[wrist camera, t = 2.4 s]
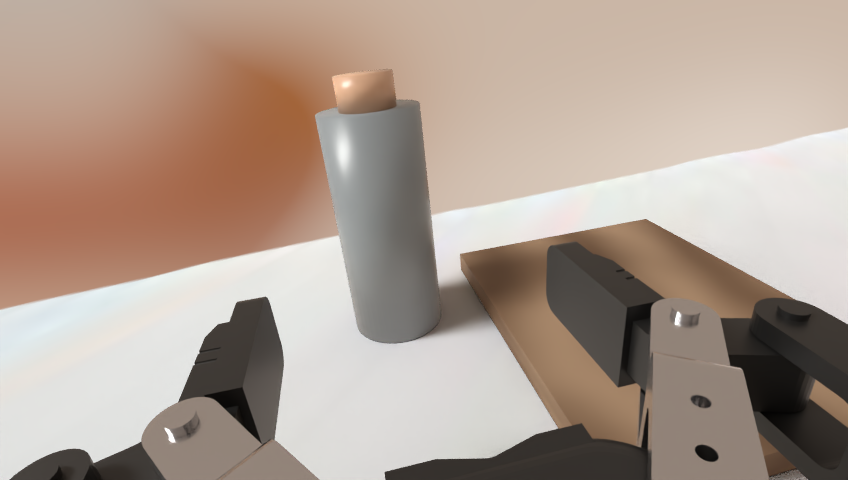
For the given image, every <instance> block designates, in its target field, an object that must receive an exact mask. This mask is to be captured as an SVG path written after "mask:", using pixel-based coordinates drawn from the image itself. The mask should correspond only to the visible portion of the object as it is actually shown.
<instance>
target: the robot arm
mask: <svg viewBox="0 0 848 480" xmlns="http://www.w3.org/2000/svg"><path fill="white" fill-rule="evenodd" d="M546 296H547V301H548V305H549V307H550V309H551V311H552V312H553V314H554V315H555V316H556V317H557V318H558V319H559V321H560V322H561V323H562V324H563V325H564V326H565V327H566V329H567V330H568V331H569V332H570V333H571V334H572V335H573V337H574V338H575V339H576V340H577V341H578V342H579V344H580V345H581V346H582V347H583V348H584V349H585V350H586V352H587V353H588V354H589V355H590V356H591V357H592V358H593V360H594V361H595V362H596V363H597V364H598V365H599V366H600V368H601V369H602V370H603V371H604V372H605V373H606V374H607V376H608V377H609V378H610V379H611V380H612V381H613V382H614V384H615V385H616V386H617V387H618V388H619V387H623V386H627V385H631V384H635V383H637V384H638V385H639V386H640V392H639V401H638V421H637V441H636V446H635V445H632V444H628V443H625V442H620V441H615V440H609V439H599V438H592V437H591V436H590V434H589V433H588V431H587V430H586V429H585V427H584V426H583V424H582V423H580V424H576V425H572V426H568V427H564V428H560V429H556V430H552V431H548V432H544V433H540V434H536V435H534V436H532V437H530V438H528V439H526V440H525V441H523V442H521V443H519V444H517V445H515V446H513V447H512V448H510V449H508V450H506V451H504V452H502V453H500V454H499V455H497V456H495V457H492V458H485V459H435V460H431V461H427V462H423V463H419V464H415V465H411V466H407V467H403V468H399V469H395V470H391V471H387V472H385V479H386V480H769V476H768V472H767V468H766V464H765V459H764V455H763V451H762V447H761V443H760V439H759V434H758V432H759V433H760V434H761V435H762V436H763V437H764V438H765V439H766V440H767V441H768V442H769V443H770V444H772V445H773V446H774V447H775V448H776V449H777V450H778V451H779V452H780V453H781V454H782V455H783V456H784V457H785V458H786V459H787V460H788V461H789V462H790V463H791V464H793V465H794V466H795V467H796V468H797V469H798V470H799V471H800V472H801V473H802V474H803V475H804V476H805V477H806V478H807V479H808V480H848V427H846V426H845V425H844V424H842V423H841V422H840V421H839V420H837V419H836V418H835V417H833V416H832V415H831V414H829V413H828V412H827V411H826V410H824V409H823V408H822V407H820V406H819V405H818V404H816V403H815V402H814V401H813V400H811V399H810V398H809V397H810V395H811V392H812V389H813V386H814V383H815V380H817V381H818V382H820V383H821V384H823V385H824V386H825V387H827V388H828V389H830V390H831V391H832V392H834V393H835V394H837V395H838V396H839V397H841V398H842V399H843V400H844V401H845V402H846V403H847V404H848V324H846V323H844V322H842V321H841V320H839V319H837V318H835V317H834V316H832V315H830V314H828V313H826V312H825V311H823V310H821V309H819V308H817V307H815V306H813V305H810V304H807V303H804V302H801V301H797V300H792V299H786V298H766V299H762V300H759V301H758V302H756V304H755V305H754V309H753V313H752V317H751V318H720V316H719V315H718V314H717V313H716V312H715V311H714V310H713V309H711V308H710V307H708V306H706V305H704V304H702V303H699V302H696V301H693V300H688V299H682V298H667V299H665V298H664V297H662V296H661V295H660V294H658V293H657V292H656V291H654V290H653V289H651V288H650V287H649V286H647V285H646V284H645V283H643V282H642V281H640V280H639V279H638V278H635V277H634V275H632V274H631V273H629V272H628V271H625V269H624V268H623V267H621V266H620V265H618V264H617V263H616V262H614V261H613V260H610V259H608V258H605V257H602V256H600V255H597V254H592V253H591V252H590V251H589V250H587V249H586V248H585V247H583V246H582V245H581V244H579V243H578V242H576V241H573V242H568V243H562V244H557V245H551V246H550V247H549V248H548V251H547V275H546ZM199 352H200V354H198V356H197V358H196V360H195V365H194V366H193V368H192V370H191V372H190V375H189V377H188V380H187V382H186V385H185V387H184V389H183V392H182V394H181V397H180V399H179V401H178V403H176V404H174V405H172V406H170V407H168V408H167V409H165V410H164V411H162V412H161V413H160V414H158V415H157V416H156V417H155V418H154V419H153V420H152V421H151V422H150V423H149V424H148V426H147V427H146V429H145V430H144V433H143V435H142V442H140V443H138V444H136V445H134V446H132V447H130V448H128V449H125V450H123V451H121V452H118V453H116V454H114V455H112V456H109V457H107V458H105V459H102V460H100V461H98V462H96V463H93V461H92V459H91V458H90V456H89V454H88V453H87V452H86V451H84V450H81V449H67V450H62V451H59V452H55V453H52V454H50V455H47V456H45V457H43V458H41V459H39V460H37V461H35V462H33V463H32V464H30V465H28V466H27V467H25V468H24V469H22V470H21V471H20V472H18V473H17V474H16V475H14V476H13V477H12V478H11V479H10V480H319V479H318V478H317V477H316V476H315V475H314V474H312V473H311V472H310V471H309V470H308V469H307V468H306V467H305V466H304V465H302V464H301V463H300V462H299V461H298V460H297V459H296V458H295V457H294V456H293V455H291V454H290V453H289V452H288V451H287V450H286V449H285V448H284V447H283V446H281V445H280V444H279V443H278V442H277V441H275V440H274V438H275V430H276V423H277V415H278V407H279V399H280V391H281V384H282V376H283V368H284V359H283V350H282V345H281V341H280V338H279V334H278V331H277V327H276V324H275V320H274V316H273V313H272V309H271V306H270V303H269V300H268V298H267V297H262V298H256V299H251V300H245V301H240V302H237V303H236V305H235V308H234V311H233V314H232V316H231V319H230V322H227V323H222V324H218V325H217V326H216V327H215V328H214V329H213V330H212V331H211V332H210V333H209V334H208V335H207V336H206V337H205V339H204V341H203V344H202V346H201V348H200V351H199Z"/></svg>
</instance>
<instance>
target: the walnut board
mask: <svg viewBox="0 0 848 480" xmlns="http://www.w3.org/2000/svg"><path fill="white" fill-rule="evenodd" d="M573 241H576V242H578V243H579V244H581V245H582V246H583V247H585V248H586V249H587V250H589V251H590V252H591V253H592V254H597V255H600V256H602V257H605V258H608V259H610V260H613V261H614V262H616V263H617V264H618V265H620V266H621V267H623V268H624V269H625V271H628V272H629V273H631V274H632V275H634V277H635V278H638V279H639V280H640V281H642V282H643V283H645V284H646V285H647V286H649V287H650V288H651V289H653V290H654V291H656V292H657V293H658V294H660V295H661V296H662V297H664V298H665V299H667V298H682V299H688V300H693V301H696V302H699V303H702V304H704V305H706V306H708V307H710V308H711V309H713V310H714V311H715V312H716V313H717V314H718V315H719V316H720V318H751V317H752V313H753V309H754V305H755V304H756V302H758V301H759V300H762V299H766V298H786V299H792V300H795V299H793V298H791V297H789V296H787V295H786V294H784V293H782V292H780V291H778V290H776V289H774V288H773V287H771V286H769V285H767V284H765V283H763V282H762V281H760V280H758V279H756V278H754V277H752V276H750V275H749V274H747V273H745V272H743V271H741V270H739V269H737V268H736V267H734V266H732V265H730V264H728V263H726V262H724V261H723V260H721V259H719V258H717V257H715V256H713V255H712V254H710V253H708V252H706V251H704V250H702V249H700V248H699V247H697V246H695V245H693V244H691V243H689V242H687V241H686V240H684V239H682V238H680V237H678V236H676V235H674V234H673V233H671V232H669V231H667V230H665V229H663V228H662V227H660V226H658V225H656V224H654V223H652V222H650V221H649V220H647V219H644V220H638V221H633V222H628V223H622V224H617V225H612V226H606V227H601V228H596V229H591V230H585V231H580V232H575V233H569V234H564V235H559V236H553V237H548V238H543V239H538V240H532V241H527V242H522V243H516V244H511V245H506V246H500V247H495V248H490V249H484V250H479V251H474V252H469V253H463V254H460V260H461V270H462V272H463V273H464V275H465V276H466V278H467V280H468V281H469V283H470V285H471V286H472V288H473V290H474V291H475V293H476V294H477V296H478V298H479V299H480V301H481V303H482V304H483V306H484V307H485V309H486V311H487V312H488V314H489V316H490V317H491V319H492V321H493V322H494V324H495V325H496V327H497V329H498V330H499V332H500V334H501V335H502V337H503V338H504V340H505V342H506V343H507V345H508V347H509V348H510V350H511V351H512V353H513V355H514V356H515V358H516V360H517V361H518V363H519V365H520V366H521V368H522V369H523V371H524V373H525V374H526V376H527V378H528V379H529V381H530V382H531V384H532V386H533V387H534V389H535V391H536V392H537V394H538V396H539V397H540V399H541V400H542V402H543V404H544V405H545V407H546V409H547V410H548V412H549V413H550V415H551V417H552V418H553V420H554V422H555V423H556V425H557V427H558V428H559V429H560V428H564V427H568V426H572V425H576V424H580V423H582V424H583V426H584V427H585V429H586V430H587V431H588V433H589V434H590V436H591V437H592V438H599V439H609V440H615V441H620V442H625V443H628V444H632V445H635V446H636V441H637V421H638V401H639V392H640V386H639V385H638V384H637V383H635V384H631V385H627V386H623V387H619V388H618V387H617V386H616V385H615V384H614V382H613V381H612V380H611V379H610V378H609V377H608V376H607V374H606V373H605V372H604V371H603V370H602V369H601V368H600V366H599V365H598V364H597V363H596V362H595V361H594V360H593V358H592V357H591V356H590V355H589V354H588V353H587V352H586V350H585V349H584V348H583V347H582V346H581V345H580V344H579V342H578V341H577V340H576V339H575V338H574V337H573V335H572V334H571V333H570V332H569V331H568V330H567V329H566V327H565V326H564V325H563V324H562V323H561V322H560V321H559V319H558V318H557V317H556V316H555V315H554V314H553V312H552V311H551V309H550V307H549V305H548V301H547V296H546V275H547V251H548V248H549V247H550V246H551V245H557V244H562V243H568V242H573ZM809 398H810V399H811V400H813V401H814V402H815V403H816V404H818V405H819V406H820V407H822V408H823V409H824V410H826V411H827V412H828V413H829V414H831V415H832V416H833V417H835V418H836V419H837V420H839V421H840V422H841V423H842V424H844V425H845V426H846V427H848V404H847V403H846V402H845V401H844V400H843V399H842V398H841V397H839V396H838V395H837V394H835V393H834V392H832V391H831V390H830V389H828V388H827V387H825V386H824V385H823V384H821V383H820V382H818V381H817V380H815V383H814V386H813V389H812V392H811V395H810V397H809ZM758 434H759V439H760V443H761V447H762V451H763V455H764V459H765V464H766V468H767V472H768V476H772V475H775V474H779V473H782V472H786V471H789V470H792V469H796V467H795V466H794V465H793V464H791V463H790V462H789V461H788V460H787V459H786V458H785V457H784V456H783V455H782V454H781V453H780V452H779V451H778V450H777V449H776V448H775V447H774V446H773V445H772V444H770V443H769V442H768V441H767V440H766V439H765V438H764V437H763V436H762V435H761V434H760V433H759V432H758Z"/></svg>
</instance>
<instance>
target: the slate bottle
mask: <svg viewBox="0 0 848 480" xmlns="http://www.w3.org/2000/svg"><path fill="white" fill-rule="evenodd" d="M332 79H333V85H334V90H335V96H336V101H337V107H336V108H332V109H328V110H325V111H322V112H319V113H317V114H316V115H315V118H316V123H317V128H318V132H319V138H320V143H321V148H322V153H323V158H324V163H325V167H326V173H327V177H328V182H329V187H330V192H331V197H332V202H333V207H334V212H335V217H336V222H337V227H338V232H339V237H340V242H341V247H342V252H343V257H344V262H345V267H346V272H347V277H348V282H349V287H350V292H351V297H352V302H353V307H354V312H355V317H356V322H357V326H358V329H359V331H360V332H361V334H363V335H364V336H365V337H367V338H368V339H371V340H373V341H377V342H382V343H401V342H406V341H410V340H414V339H416V338H419V337H421V336H423V335H425V334H427V333H428V332H430V331H431V330H432V329H433V328H434V327H435V326H436V325H437V324H438V322H439V320H440V318H441V308H440V298H439V288H438V278H437V269H436V259H435V249H434V239H433V229H432V220H431V210H430V200H429V191H428V181H427V171H426V162H425V151H424V141H423V132H422V122H421V112H420V103H419V102H418V101H414V100H396V96H395V88H394V80H393V71H392V69H383V70H370V71H361V72H353V73H347V74H341V75H336V76H333V77H332Z"/></svg>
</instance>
